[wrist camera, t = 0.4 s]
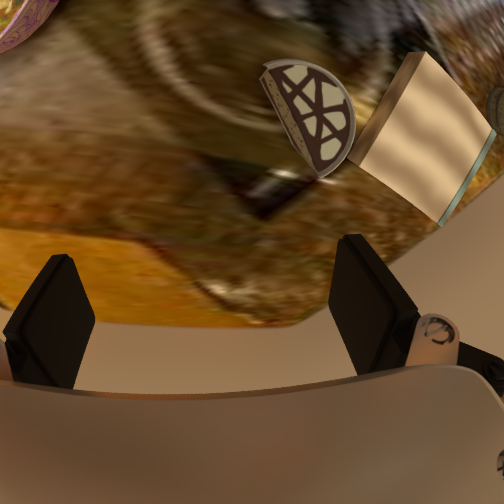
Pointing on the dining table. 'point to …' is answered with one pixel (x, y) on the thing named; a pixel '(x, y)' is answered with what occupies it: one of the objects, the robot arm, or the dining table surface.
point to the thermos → (496, 109)
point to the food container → (311, 111)
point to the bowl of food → (21, 20)
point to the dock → (424, 138)
